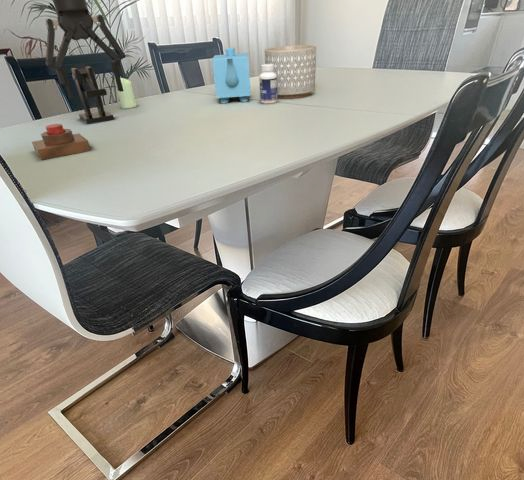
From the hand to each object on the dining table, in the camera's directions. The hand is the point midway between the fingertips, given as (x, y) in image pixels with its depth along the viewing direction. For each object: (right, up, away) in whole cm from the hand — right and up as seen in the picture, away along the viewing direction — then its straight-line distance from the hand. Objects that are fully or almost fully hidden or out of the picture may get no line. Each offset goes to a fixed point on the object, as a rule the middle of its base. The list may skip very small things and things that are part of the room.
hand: (97, 94), depth 107 cm
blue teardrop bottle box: (+37, +12, +22) cm, 44 cm away
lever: (-3, +4, +3) cm, 6 cm away
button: (-1, -21, -18) cm, 28 cm away
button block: (-1, -24, -16) cm, 29 cm away
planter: (+56, +16, +24) cm, 63 cm away
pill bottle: (+48, +8, +16) cm, 51 cm away
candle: (+1, +12, +24) cm, 27 cm away
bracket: (-5, 0, +11) cm, 12 cm away
